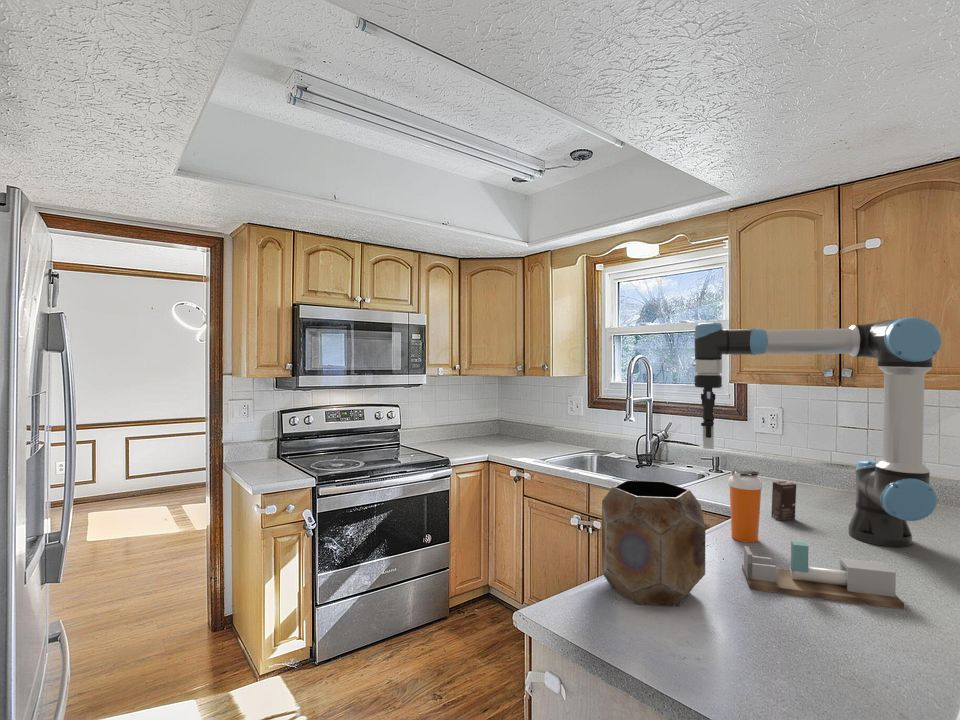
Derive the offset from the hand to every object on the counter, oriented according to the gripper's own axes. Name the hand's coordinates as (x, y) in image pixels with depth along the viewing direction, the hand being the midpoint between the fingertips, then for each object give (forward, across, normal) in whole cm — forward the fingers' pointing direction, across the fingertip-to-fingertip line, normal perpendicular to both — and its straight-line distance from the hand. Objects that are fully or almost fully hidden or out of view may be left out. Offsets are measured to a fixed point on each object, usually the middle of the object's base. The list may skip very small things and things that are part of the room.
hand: (707, 444), depth 159 cm
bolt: (+26, +28, +28) cm, 47 cm away
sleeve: (+26, +28, +33) cm, 51 cm away
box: (+28, -28, +24) cm, 46 cm away
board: (+28, +28, +23) cm, 46 cm away
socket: (+26, +29, +11) cm, 41 cm away
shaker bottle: (+28, -2, +10) cm, 30 cm away
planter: (+28, +44, -13) cm, 54 cm away
